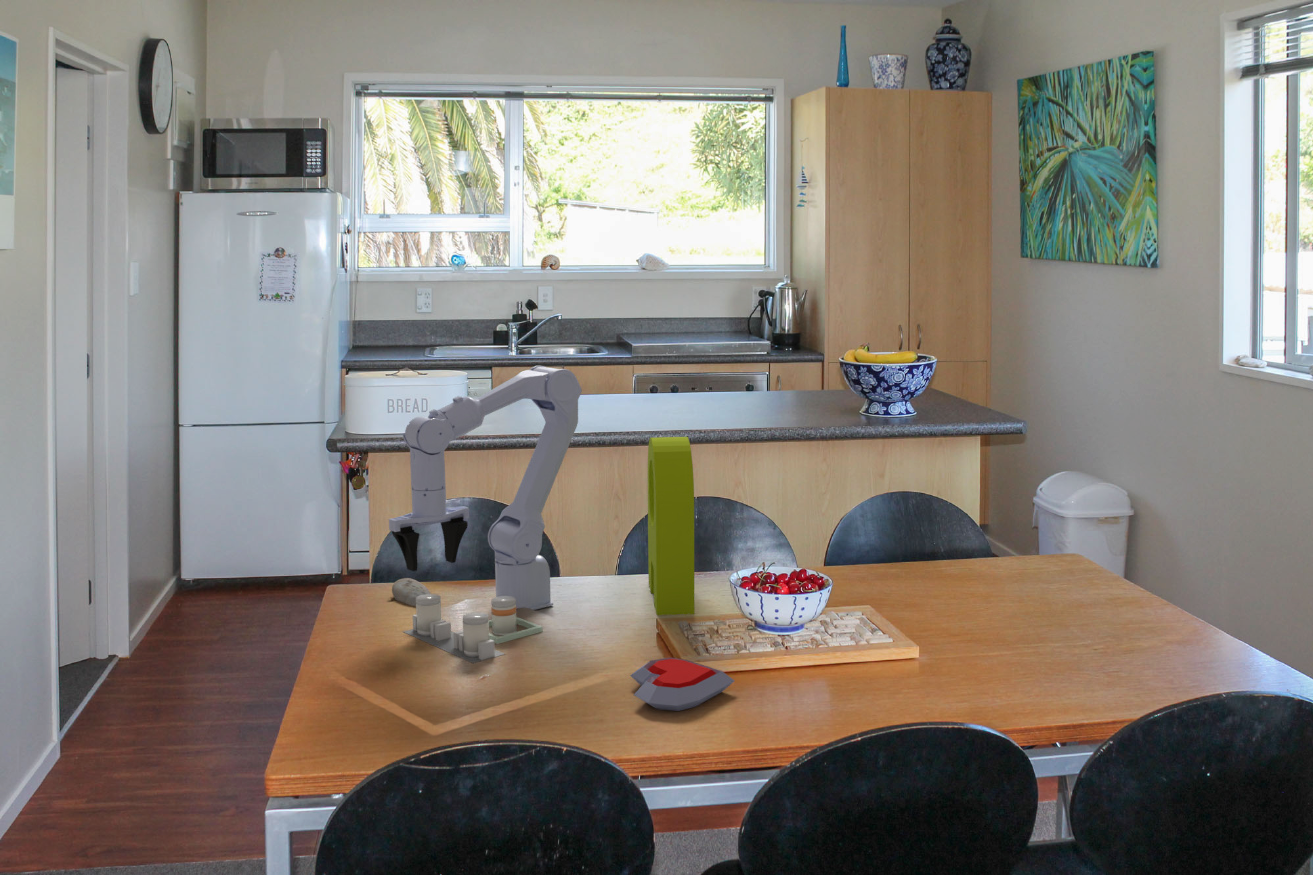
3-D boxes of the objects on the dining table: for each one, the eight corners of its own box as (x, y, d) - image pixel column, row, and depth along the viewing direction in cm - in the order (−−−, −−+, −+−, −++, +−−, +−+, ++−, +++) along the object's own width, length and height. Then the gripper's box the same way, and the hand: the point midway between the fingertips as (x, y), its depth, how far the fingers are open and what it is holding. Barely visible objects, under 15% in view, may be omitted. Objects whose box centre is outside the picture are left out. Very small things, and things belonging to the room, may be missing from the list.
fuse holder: (434, 629, 199) (433, 609, 199) (505, 660, 184) (504, 638, 183) (403, 637, 195) (402, 617, 195) (473, 669, 180) (472, 647, 179)
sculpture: (726, 672, 178) (628, 676, 177) (726, 649, 178) (627, 652, 177) (744, 715, 162) (635, 720, 160) (744, 689, 161) (635, 694, 160)
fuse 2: (480, 647, 187) (478, 610, 186) (494, 652, 184) (493, 616, 183) (459, 652, 184) (457, 616, 184) (473, 659, 182) (472, 621, 181)
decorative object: (648, 583, 226) (647, 430, 221) (683, 582, 226) (682, 429, 222) (656, 615, 206) (655, 447, 202) (694, 614, 207) (693, 446, 202)
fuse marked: (501, 628, 198) (500, 594, 197) (521, 632, 196) (520, 597, 195) (487, 636, 194) (486, 601, 193) (507, 639, 192) (506, 604, 191)
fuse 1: (433, 627, 197) (432, 592, 196) (446, 632, 194) (445, 597, 194) (412, 632, 195) (411, 597, 194) (425, 637, 192) (424, 602, 191)
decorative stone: (411, 617, 207) (410, 598, 207) (383, 595, 220) (382, 578, 220) (444, 611, 210) (443, 593, 210) (414, 590, 223) (413, 573, 223)
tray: (511, 624, 202) (510, 614, 201) (542, 636, 195) (542, 626, 195) (466, 636, 196) (466, 625, 195) (497, 649, 189) (497, 638, 189)
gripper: (452, 478, 206) (455, 553, 208) (378, 490, 197) (382, 569, 199) (474, 484, 201) (477, 561, 203) (399, 496, 191) (403, 577, 193)
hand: (431, 565), depth 201 cm, fingers open, 7 cm apart
